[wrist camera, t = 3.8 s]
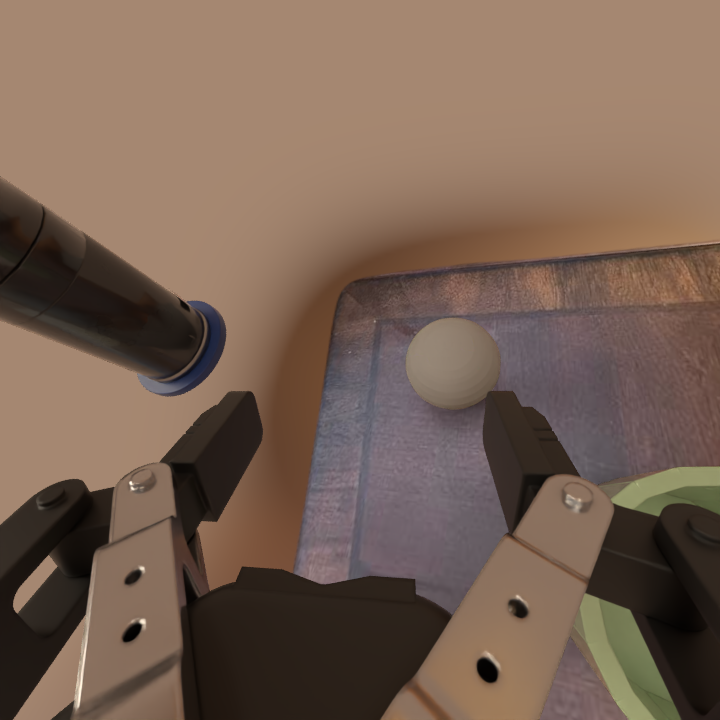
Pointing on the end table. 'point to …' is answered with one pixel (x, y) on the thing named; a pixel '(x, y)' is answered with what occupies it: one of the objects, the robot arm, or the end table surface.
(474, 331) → the light bulb
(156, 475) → the robot arm
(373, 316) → the end table surface
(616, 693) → the pot
